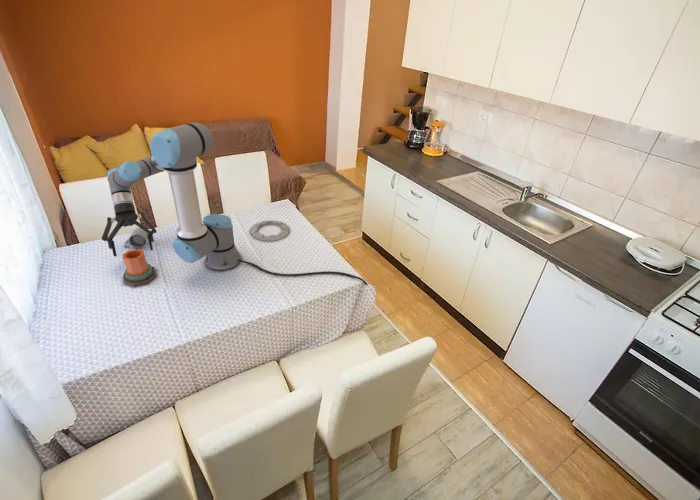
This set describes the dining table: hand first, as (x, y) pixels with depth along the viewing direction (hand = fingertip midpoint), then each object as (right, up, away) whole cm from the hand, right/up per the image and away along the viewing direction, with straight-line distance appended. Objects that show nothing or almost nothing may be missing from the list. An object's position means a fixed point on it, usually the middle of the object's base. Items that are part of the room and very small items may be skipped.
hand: (133, 252), depth 159 cm
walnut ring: (+1, -11, +4) cm, 11 cm away
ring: (+49, +11, +41) cm, 65 cm away
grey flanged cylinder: (-11, +4, +23) cm, 26 cm away
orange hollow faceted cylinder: (+1, -7, +2) cm, 8 cm away
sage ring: (+1, -9, +3) cm, 9 cm away
